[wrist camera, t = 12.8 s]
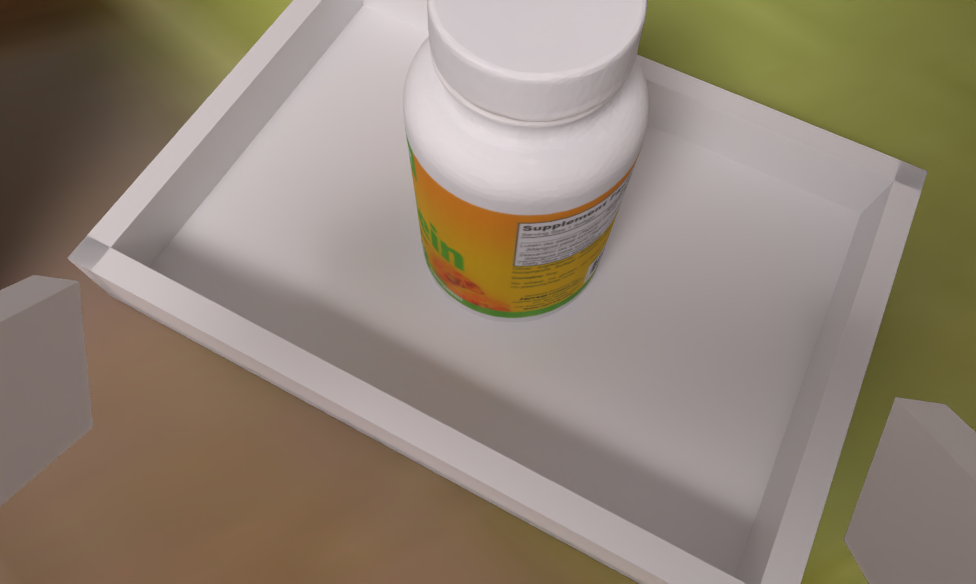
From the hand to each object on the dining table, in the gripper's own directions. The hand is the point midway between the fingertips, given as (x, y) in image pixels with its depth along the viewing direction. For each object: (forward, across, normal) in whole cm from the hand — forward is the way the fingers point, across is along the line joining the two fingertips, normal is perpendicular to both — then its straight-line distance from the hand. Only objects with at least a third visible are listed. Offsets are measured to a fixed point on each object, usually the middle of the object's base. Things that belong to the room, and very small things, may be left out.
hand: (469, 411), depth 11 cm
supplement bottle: (+11, 0, 0) cm, 11 cm away
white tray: (+11, 0, -1) cm, 11 cm away
